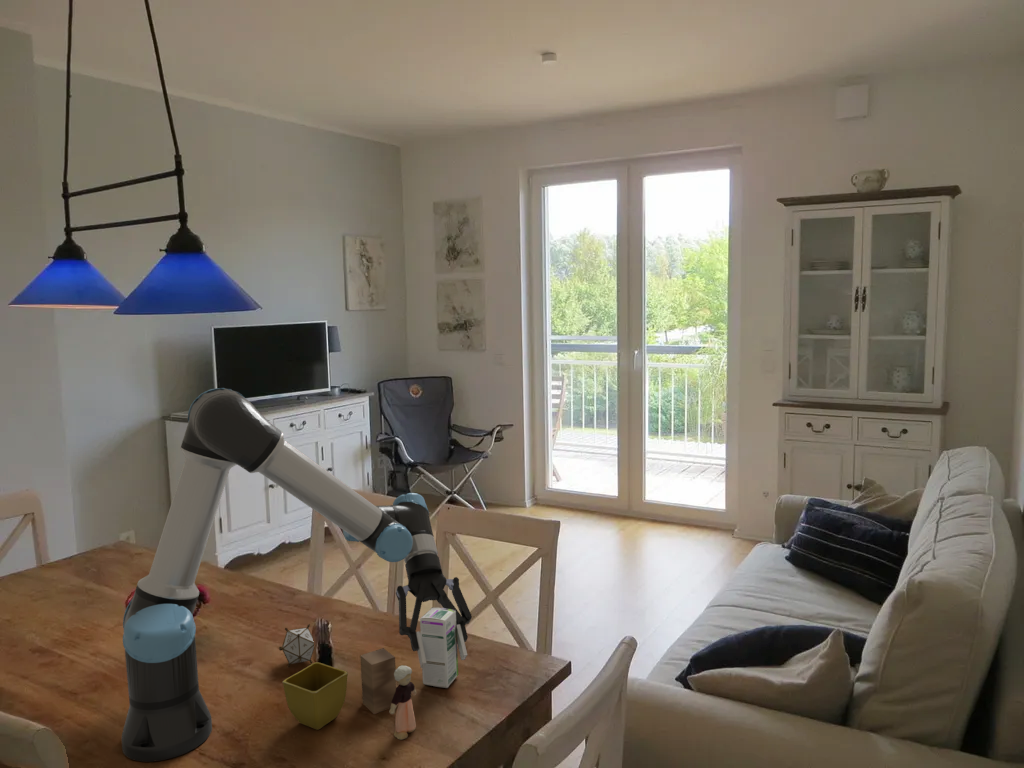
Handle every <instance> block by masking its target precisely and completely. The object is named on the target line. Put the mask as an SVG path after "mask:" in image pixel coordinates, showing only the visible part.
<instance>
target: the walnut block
mask: <svg viewBox="0 0 1024 768" xmlns="http://www.w3.org/2000/svg"><path fill="white" fill-rule="evenodd" d="M359 658H360V671H361V673H360V677H361V693H362V696H361V697H362V698H361V699H362V705H364V707H366V708H367V709H368V711H370V713H372V714H373V715H376V714H378V713H381V712H384V711H386V709H387V710H390V709H391V702H392V699H393V696H394V694H395V691H396V688H397V681H396V680H395V677H394V672H395V670H396V669H397V668H396V657H395V656H394V655H393V654H392V653H390V652H389V651H388V650H387V649H385V648H384V647H382V648H379V649H376V650H373V651H369V652H367V653H364V654H360V657H359ZM383 710H384V711H383Z"/></svg>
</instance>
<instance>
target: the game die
mask: <svg viewBox="0 0 1024 768" xmlns="http://www.w3.org/2000/svg"><path fill="white" fill-rule="evenodd" d="M310 627H311V624H310V623H309V624H307V626H306V627H301V628H296V629H289V628H288V627H284V630H285V631H286V633H285V637H284V639H283V642H282V645H281V646H279V647H278V650H279V651H282V652H283V655H284V656H285V658H286V660H287V663H288V664H287V668H290V666H291V665H293V664H299V663H305V662H309V663H310V664H313V661H312V660H311V659H312V657H313V654H314V650H315V648H314V641H313V638H314V636H313V635H312V633H311V630H310Z"/></svg>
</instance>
